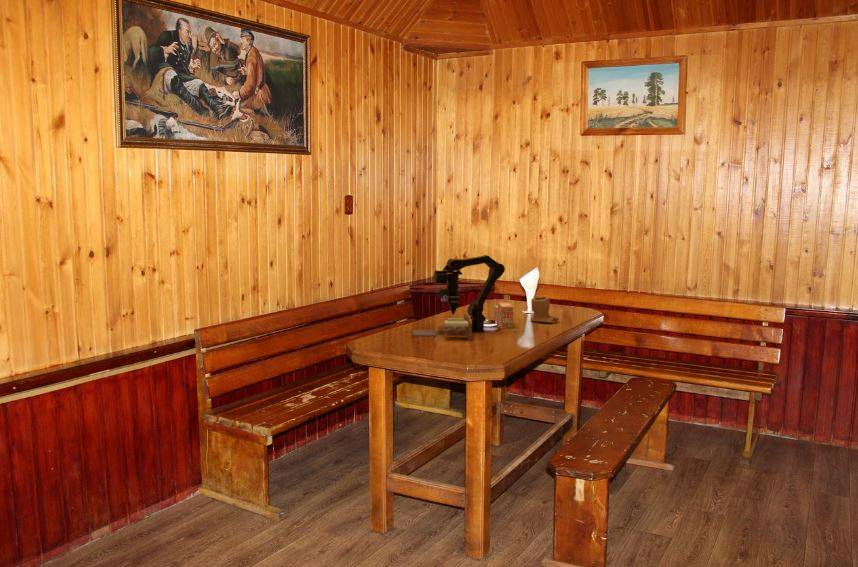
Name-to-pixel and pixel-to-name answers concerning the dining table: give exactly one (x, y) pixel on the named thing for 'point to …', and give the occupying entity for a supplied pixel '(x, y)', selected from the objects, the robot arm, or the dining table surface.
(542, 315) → the brown boot
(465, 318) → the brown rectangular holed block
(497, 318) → the stack of blocks
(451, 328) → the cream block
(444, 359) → the dining table surface
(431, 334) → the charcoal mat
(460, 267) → the robot arm
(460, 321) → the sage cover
